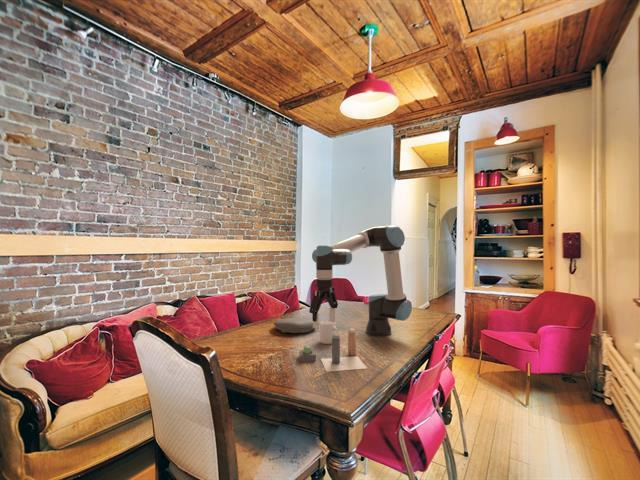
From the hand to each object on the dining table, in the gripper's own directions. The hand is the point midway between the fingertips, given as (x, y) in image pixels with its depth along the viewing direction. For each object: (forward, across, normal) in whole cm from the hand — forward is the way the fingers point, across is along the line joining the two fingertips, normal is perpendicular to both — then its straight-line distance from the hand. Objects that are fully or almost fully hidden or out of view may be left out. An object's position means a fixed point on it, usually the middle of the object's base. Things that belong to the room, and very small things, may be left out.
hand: (324, 324), depth 139 cm
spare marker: (+17, -15, +6) cm, 23 cm away
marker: (+16, -1, +6) cm, 17 cm away
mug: (+17, -24, -13) cm, 32 cm away
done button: (+15, +1, -9) cm, 18 cm away
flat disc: (+17, -34, -44) cm, 58 cm away
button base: (+17, +1, -9) cm, 19 cm away
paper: (+17, -3, +8) cm, 19 cm away
